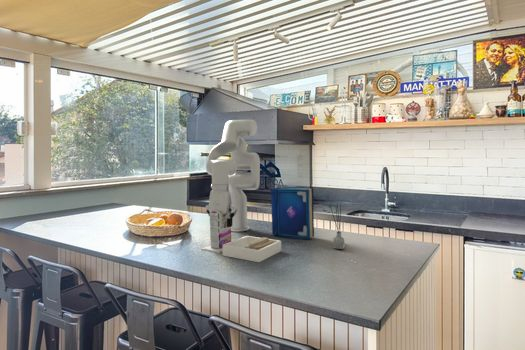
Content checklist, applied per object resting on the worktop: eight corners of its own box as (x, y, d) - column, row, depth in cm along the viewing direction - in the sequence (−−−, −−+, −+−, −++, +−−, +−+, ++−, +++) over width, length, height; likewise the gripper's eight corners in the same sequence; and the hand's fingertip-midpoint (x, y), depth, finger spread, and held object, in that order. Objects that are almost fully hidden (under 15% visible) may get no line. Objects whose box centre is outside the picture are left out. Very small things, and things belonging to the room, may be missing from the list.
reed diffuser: (342, 252, 153) (342, 205, 151) (326, 250, 156) (326, 204, 154) (347, 246, 162) (347, 202, 160) (332, 244, 165) (332, 201, 163)
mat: (201, 249, 158) (201, 248, 158) (223, 241, 172) (223, 240, 172) (219, 252, 153) (219, 251, 153) (240, 244, 166) (240, 243, 166)
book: (269, 235, 182) (269, 187, 181) (275, 233, 189) (275, 185, 187) (309, 240, 172) (309, 189, 170) (314, 237, 178) (314, 187, 177)
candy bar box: (222, 241, 169) (221, 207, 168) (231, 242, 167) (231, 208, 166) (209, 248, 158) (209, 211, 157) (219, 249, 156) (219, 212, 155)
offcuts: (248, 257, 146) (248, 243, 146) (263, 250, 156) (263, 237, 156) (258, 259, 144) (258, 245, 143) (273, 252, 154) (273, 238, 153)
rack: (222, 255, 149) (222, 244, 149) (246, 245, 165) (246, 235, 164) (259, 262, 140) (259, 250, 140) (281, 250, 155) (281, 240, 155)
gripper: (200, 187, 162) (200, 225, 163) (231, 189, 153) (231, 229, 154) (210, 186, 168) (211, 222, 169) (241, 188, 159) (241, 226, 160)
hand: (221, 225), depth 162 cm, fingers open, 9 cm apart
